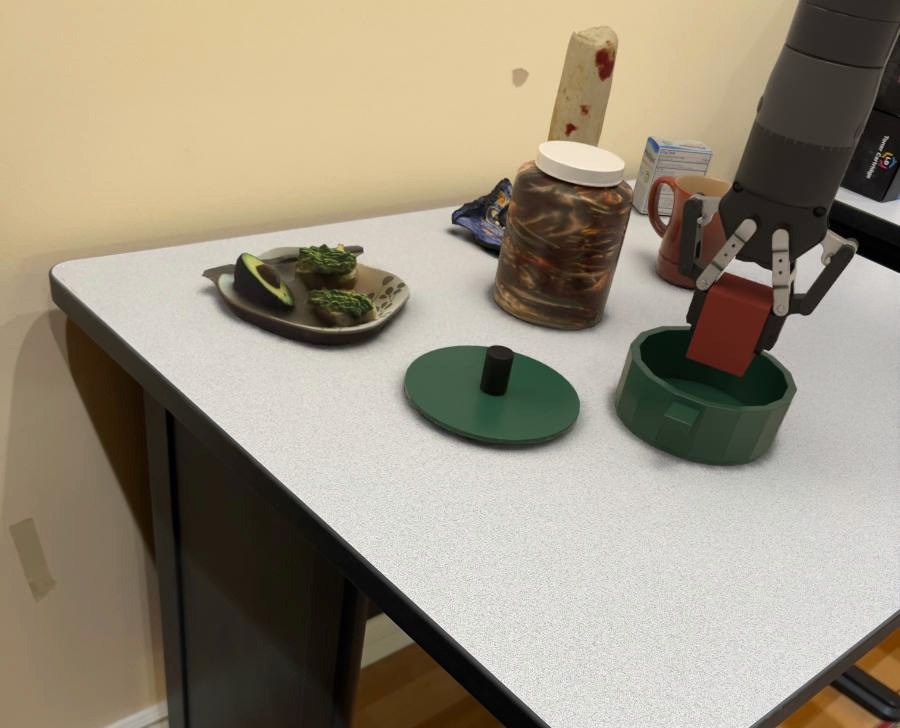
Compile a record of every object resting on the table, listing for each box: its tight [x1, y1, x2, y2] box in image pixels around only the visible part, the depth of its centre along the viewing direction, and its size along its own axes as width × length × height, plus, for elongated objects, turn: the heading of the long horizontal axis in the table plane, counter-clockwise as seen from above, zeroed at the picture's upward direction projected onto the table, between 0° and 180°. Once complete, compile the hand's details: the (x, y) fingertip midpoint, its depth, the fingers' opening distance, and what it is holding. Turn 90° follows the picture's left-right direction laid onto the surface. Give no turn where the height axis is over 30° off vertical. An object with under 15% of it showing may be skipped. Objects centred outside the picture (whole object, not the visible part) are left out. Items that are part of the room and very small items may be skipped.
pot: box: [614, 325, 798, 467], centre depth 79 cm, size 15×20×6 cm
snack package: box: [451, 177, 514, 252], centre depth 105 cm, size 12×6×12 cm
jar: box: [492, 141, 634, 330], centre depth 90 cm, size 12×12×15 cm
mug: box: [647, 174, 733, 289], centre depth 103 cm, size 12×9×10 cm
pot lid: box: [403, 344, 581, 445], centre depth 77 cm, size 16×16×5 cm
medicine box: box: [632, 135, 714, 216], centre depth 119 cm, size 8×4×9 cm, turn 102°
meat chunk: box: [686, 271, 773, 377], centre depth 75 cm, size 5×5×6 cm
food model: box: [546, 25, 619, 147], centre depth 113 cm, size 10×7×20 cm
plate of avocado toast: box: [201, 243, 411, 346], centre depth 87 cm, size 19×18×5 cm
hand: (726, 339), depth 76 cm, fingers closed on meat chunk, 5 cm apart
